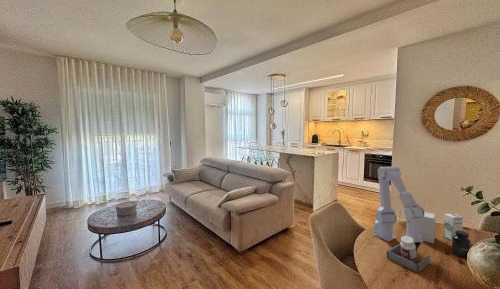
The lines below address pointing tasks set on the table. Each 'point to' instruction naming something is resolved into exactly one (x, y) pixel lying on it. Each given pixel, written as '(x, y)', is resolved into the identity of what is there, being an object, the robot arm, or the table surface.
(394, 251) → the box
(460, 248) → the supplement bottle
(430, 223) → the supplement box
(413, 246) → the pill bottle
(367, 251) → the table surface
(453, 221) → the syrup box
